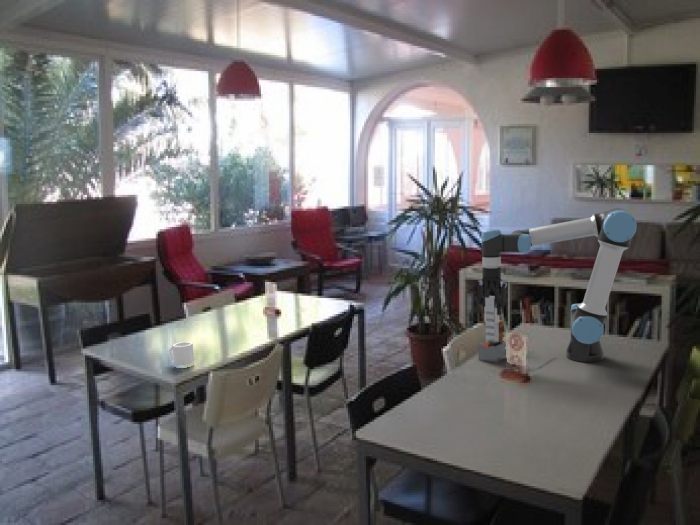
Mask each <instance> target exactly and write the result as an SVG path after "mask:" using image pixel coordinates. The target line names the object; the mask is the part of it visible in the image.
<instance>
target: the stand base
mask: <svg viewBox="0 0 700 525" xmlns="http://www.w3.org/2000/svg"><path fill="white" fill-rule="evenodd" d="M505 347H506V349H505ZM505 359H507V343H506V341H504V342H500V341H499V343H498V344H496V345H490V343H486V340H484V341H482V342H480V343H478V361H483V362H487V363H488V362H489V363H495V364H498V363H499V362H502V361H503V360H505Z"/></svg>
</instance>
